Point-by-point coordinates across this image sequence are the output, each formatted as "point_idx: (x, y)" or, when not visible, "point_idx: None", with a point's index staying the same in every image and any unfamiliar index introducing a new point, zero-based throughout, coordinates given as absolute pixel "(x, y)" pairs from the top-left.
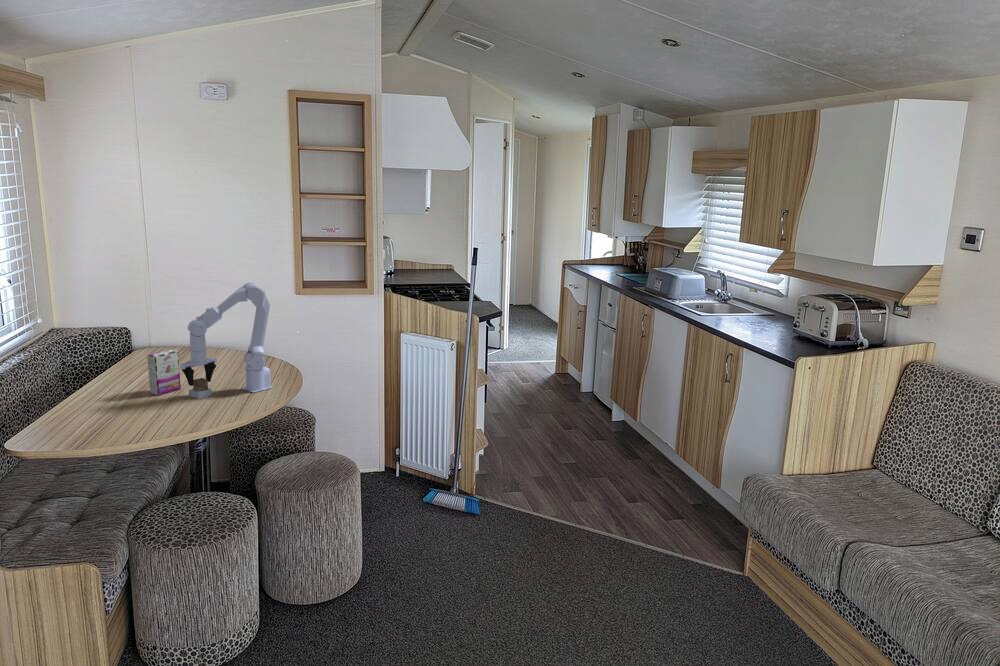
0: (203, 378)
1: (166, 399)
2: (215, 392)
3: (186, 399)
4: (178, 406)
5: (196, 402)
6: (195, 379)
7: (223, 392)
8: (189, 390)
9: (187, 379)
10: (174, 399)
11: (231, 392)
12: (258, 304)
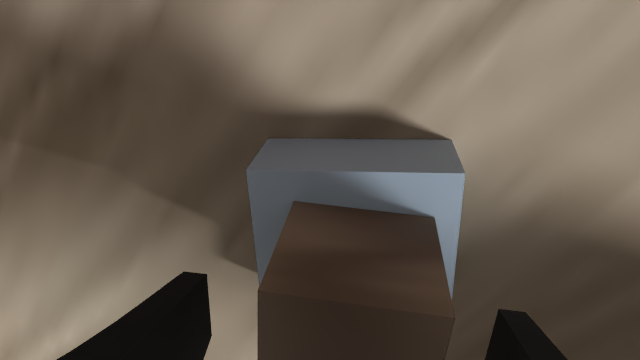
0: (443, 357)
1: (32, 45)
2: (549, 241)
3: (191, 206)
4: (54, 304)
5: (212, 333)
6: (307, 304)
7: (594, 302)
8: (249, 181)
9: (117, 333)
10: (100, 114)
11: (636, 357)
12: None
